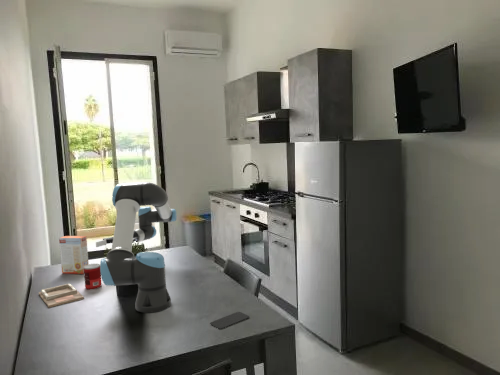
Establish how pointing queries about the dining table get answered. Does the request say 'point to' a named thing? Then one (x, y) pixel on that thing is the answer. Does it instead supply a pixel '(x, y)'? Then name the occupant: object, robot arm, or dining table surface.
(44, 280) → the dining table surface
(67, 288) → the board
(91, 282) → the canned food
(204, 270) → the dining table surface
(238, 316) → the phone
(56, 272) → the dining table surface
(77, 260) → the cracker box
